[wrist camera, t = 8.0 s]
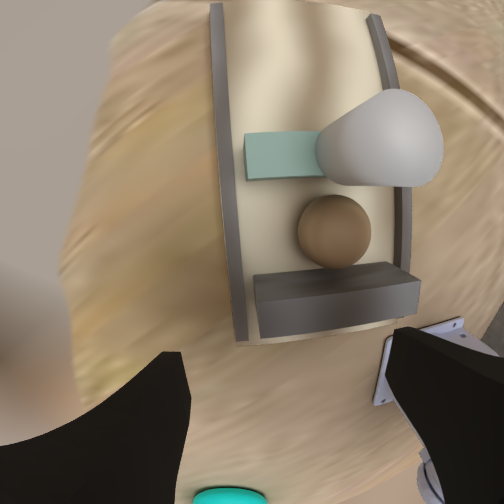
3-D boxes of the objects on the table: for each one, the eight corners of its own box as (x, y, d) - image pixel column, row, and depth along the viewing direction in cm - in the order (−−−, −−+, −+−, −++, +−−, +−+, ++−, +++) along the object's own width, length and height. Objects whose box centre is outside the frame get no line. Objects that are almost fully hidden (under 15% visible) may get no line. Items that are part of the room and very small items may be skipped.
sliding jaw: (384, 139, 15) (487, 114, 6) (387, 185, 16) (495, 191, 7) (242, 138, 15) (247, 78, 6) (246, 190, 15) (256, 191, 7)
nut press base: (365, 21, 14) (396, -14, 9) (388, 314, 20) (426, 350, 14) (211, 13, 14) (204, -34, 8) (236, 335, 19) (236, 386, 14)
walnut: (352, 192, 16) (384, 194, 12) (353, 255, 17) (383, 274, 13) (290, 195, 16) (306, 197, 12) (293, 261, 17) (309, 283, 13)
